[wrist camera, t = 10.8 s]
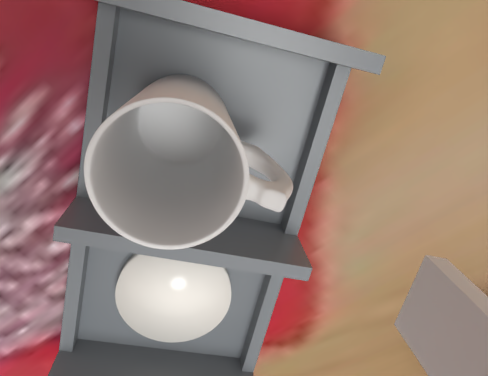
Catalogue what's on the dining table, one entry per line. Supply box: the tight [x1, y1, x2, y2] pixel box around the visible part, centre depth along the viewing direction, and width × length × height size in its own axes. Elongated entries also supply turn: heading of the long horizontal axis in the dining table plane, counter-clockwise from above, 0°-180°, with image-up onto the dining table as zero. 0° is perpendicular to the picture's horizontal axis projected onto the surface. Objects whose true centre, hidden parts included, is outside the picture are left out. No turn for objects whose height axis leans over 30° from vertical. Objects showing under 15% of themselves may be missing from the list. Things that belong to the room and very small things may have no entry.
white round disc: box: [115, 254, 231, 343], centre depth 32 cm, size 9×9×1 cm
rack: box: [48, 0, 386, 376], centre depth 28 cm, size 16×28×7 cm, turn 166°
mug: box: [84, 74, 293, 250], centre depth 23 cm, size 10×7×12 cm, turn 69°
